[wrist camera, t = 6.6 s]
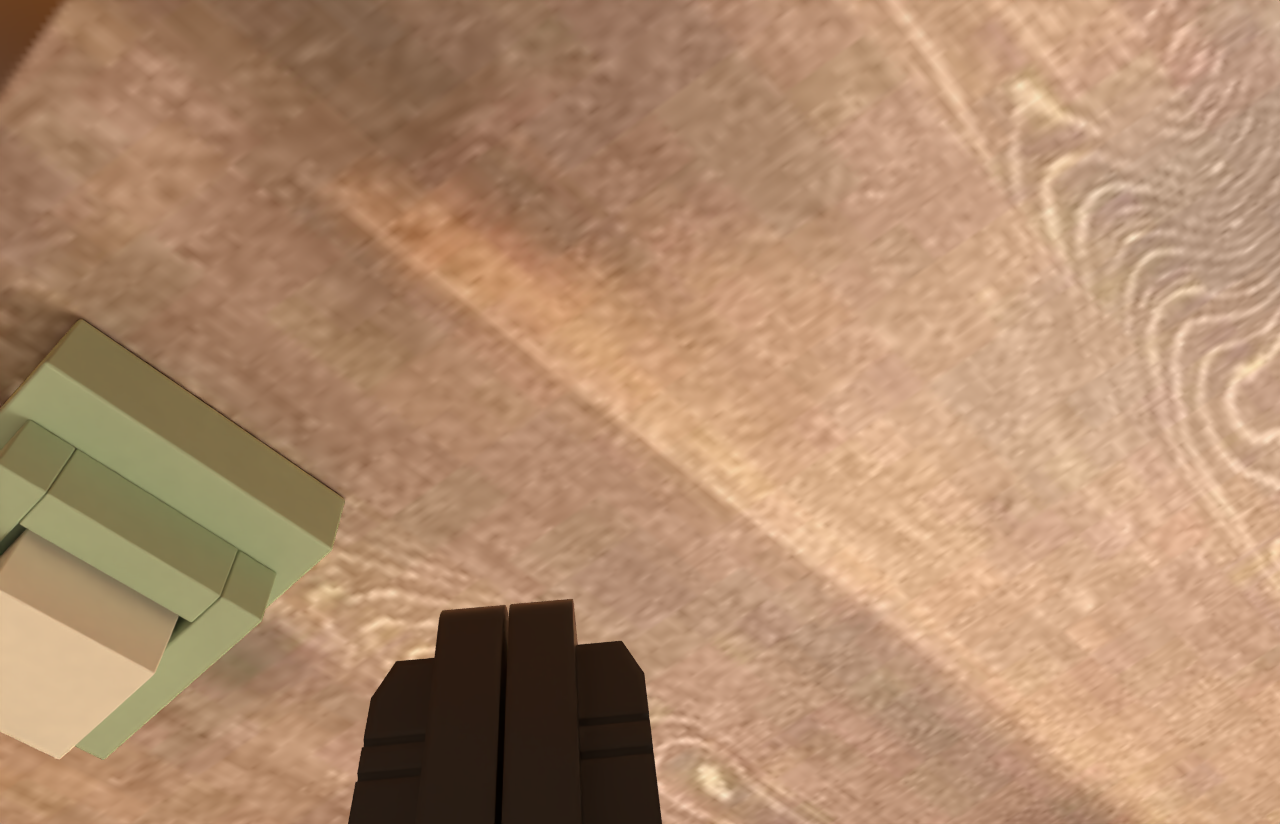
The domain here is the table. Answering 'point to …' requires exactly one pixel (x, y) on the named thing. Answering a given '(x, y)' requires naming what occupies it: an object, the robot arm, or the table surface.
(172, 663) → the key block
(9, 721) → the ivory key
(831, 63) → the table surface
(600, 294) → the table surface
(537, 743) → the robot arm
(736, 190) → the table surface
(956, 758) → the table surface
